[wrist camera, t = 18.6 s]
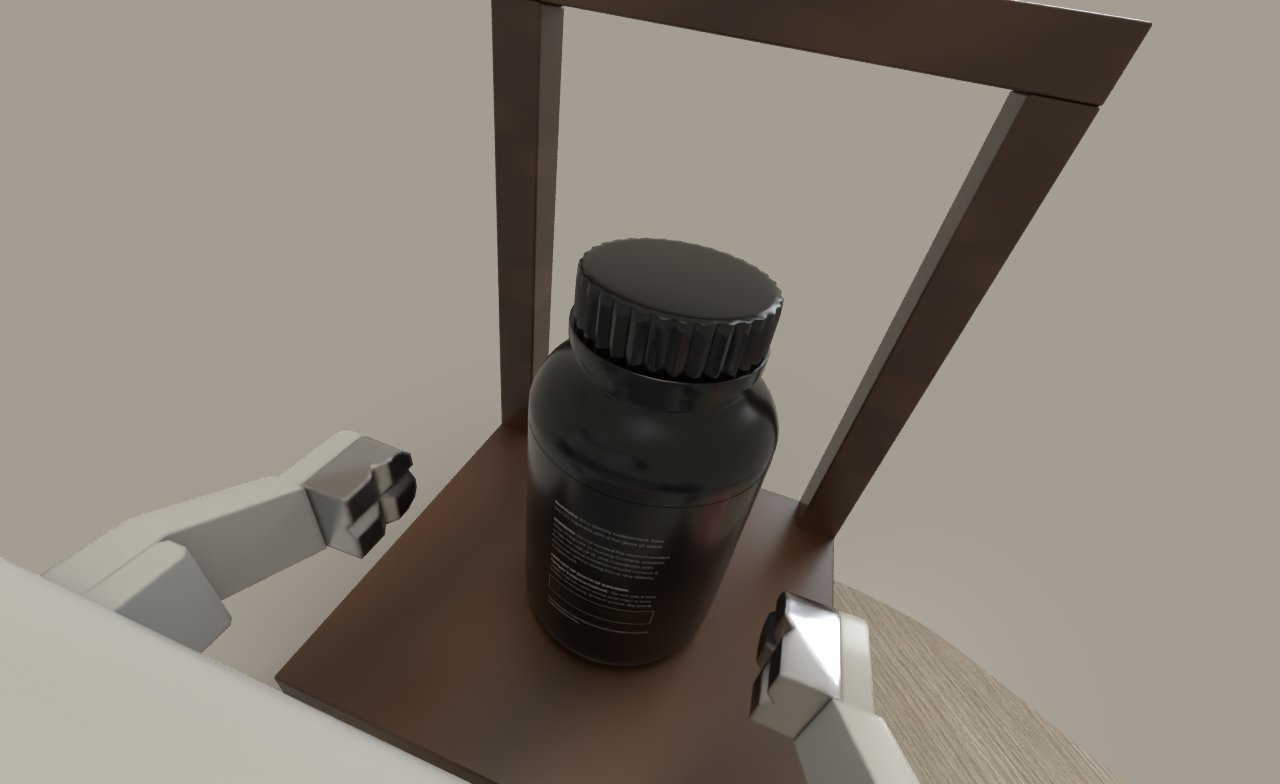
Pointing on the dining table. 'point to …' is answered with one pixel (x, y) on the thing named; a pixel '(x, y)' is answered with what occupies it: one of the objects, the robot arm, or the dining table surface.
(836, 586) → the dining table surface
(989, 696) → the dining table surface
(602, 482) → the supplement bottle
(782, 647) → the robot arm
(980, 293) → the shelf
